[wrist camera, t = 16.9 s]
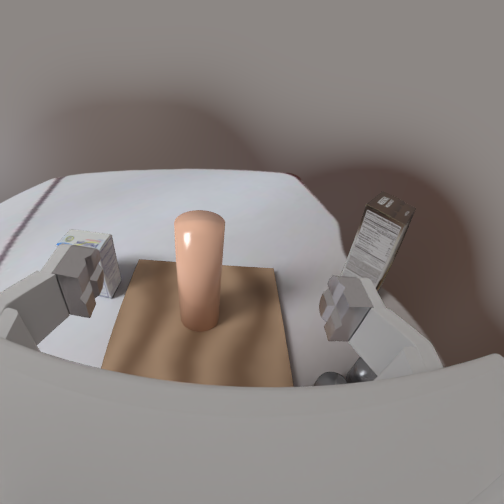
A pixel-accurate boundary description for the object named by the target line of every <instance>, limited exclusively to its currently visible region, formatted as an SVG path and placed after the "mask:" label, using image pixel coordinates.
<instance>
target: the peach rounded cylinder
mask: <svg viewBox="0 0 504 504" xmlns="http://www.w3.org/2000/svg"><path fill="white" fill-rule="evenodd" d="M174 226H175V250H176V267H177V282H178V294H179V306H180V316H181V321H182V323H183V325H184V326H185V327H186V328H188V329H190V330H192V331H196V332H204V331H208V330H210V329H212V328H213V327H215V326H216V324H217V323H218V320H219V306H220V289H221V273H222V258H223V244H224V231H225V221H224V219H223V218H222V217H221V216H220V215H218V214H216V213H213V212H209V211H203V210H196V211H189V212H186V213H183V214H181V215H179V216H178V217H177V218H176V219H175V222H174Z"/></svg>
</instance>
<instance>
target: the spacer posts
mask: <svg viewBox="0 0 504 504" xmlns="http://www.w3.org/2000/svg"><path fill="white" fill-rule="evenodd" d="M376 377H377V375H376V374H375V372H374V371H373V370H372V369H371V368H370V367H369V366H368V364H367V363H366V362H365V361H364V360H363V359H362V358H361V357H360V358H359V359H358V360H357V362H356V363H355V364H354V366H353V367H352V368H351V370H350V371H349V372H348V374H347V376H346V380H345V379H344V377H343V376H341V375H340V374H338V373H335V372H326V373H323V374H322V375H321V376H320V377H319V378H318V379H317V381H316V382H315V384H314V385H313V386H325V385H338V384H349V383H358V382H367V381H373V380H374V379H375V378H376Z"/></svg>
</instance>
